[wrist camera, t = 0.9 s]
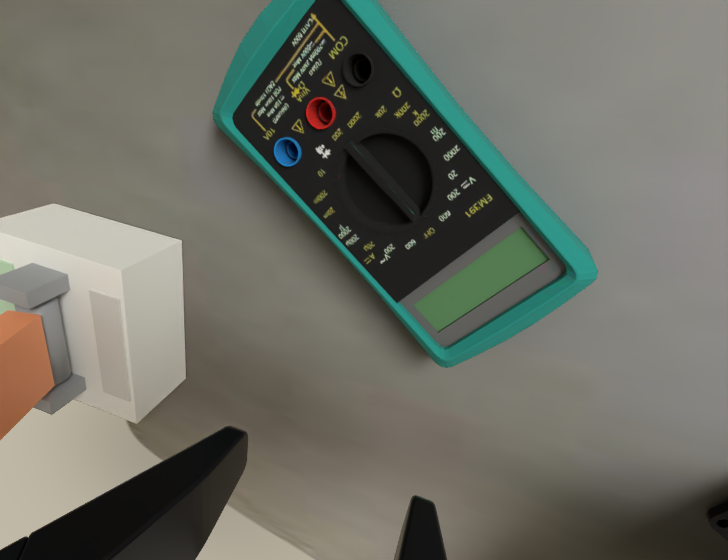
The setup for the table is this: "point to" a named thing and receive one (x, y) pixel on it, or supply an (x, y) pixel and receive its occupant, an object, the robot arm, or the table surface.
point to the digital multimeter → (397, 176)
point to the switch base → (101, 304)
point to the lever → (30, 359)
